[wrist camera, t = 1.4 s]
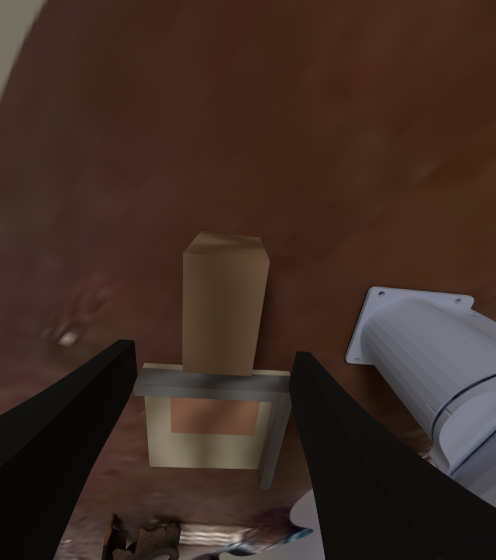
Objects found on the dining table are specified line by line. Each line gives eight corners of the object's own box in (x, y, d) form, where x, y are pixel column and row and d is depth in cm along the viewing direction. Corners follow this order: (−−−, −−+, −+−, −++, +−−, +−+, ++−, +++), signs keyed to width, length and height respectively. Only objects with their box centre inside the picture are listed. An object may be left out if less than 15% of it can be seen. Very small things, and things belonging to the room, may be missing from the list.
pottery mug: (106, 495, 31) (107, 573, 24) (176, 470, 36) (193, 528, 29) (94, 569, 32) (92, 662, 25) (163, 534, 37) (177, 604, 31)
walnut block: (259, 237, 18) (269, 261, 12) (247, 324, 21) (251, 376, 15) (200, 231, 17) (183, 252, 12) (197, 321, 20) (182, 372, 15)
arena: (289, 371, 23) (295, 393, 20) (267, 463, 28) (269, 489, 26) (144, 362, 22) (133, 385, 19) (151, 460, 27) (143, 487, 25)
